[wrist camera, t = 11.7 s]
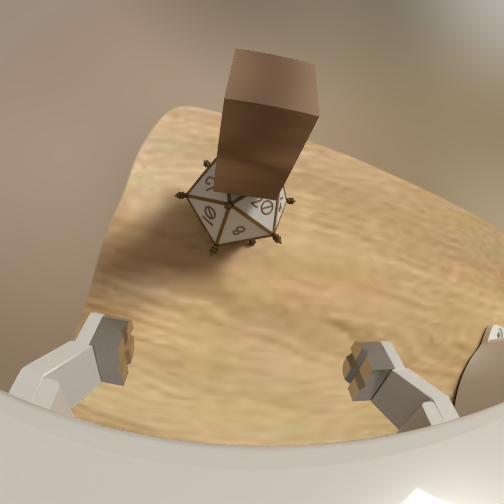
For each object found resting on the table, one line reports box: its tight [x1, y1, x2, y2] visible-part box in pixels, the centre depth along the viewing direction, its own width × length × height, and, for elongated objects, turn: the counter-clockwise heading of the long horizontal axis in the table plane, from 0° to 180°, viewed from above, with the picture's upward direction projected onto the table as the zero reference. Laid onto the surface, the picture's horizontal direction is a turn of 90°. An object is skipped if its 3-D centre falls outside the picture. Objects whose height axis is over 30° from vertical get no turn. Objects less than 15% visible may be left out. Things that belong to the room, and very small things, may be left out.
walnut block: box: [213, 49, 319, 201], centre depth 16 cm, size 4×4×8 cm
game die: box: [174, 157, 296, 256], centre depth 23 cm, size 9×8×10 cm
